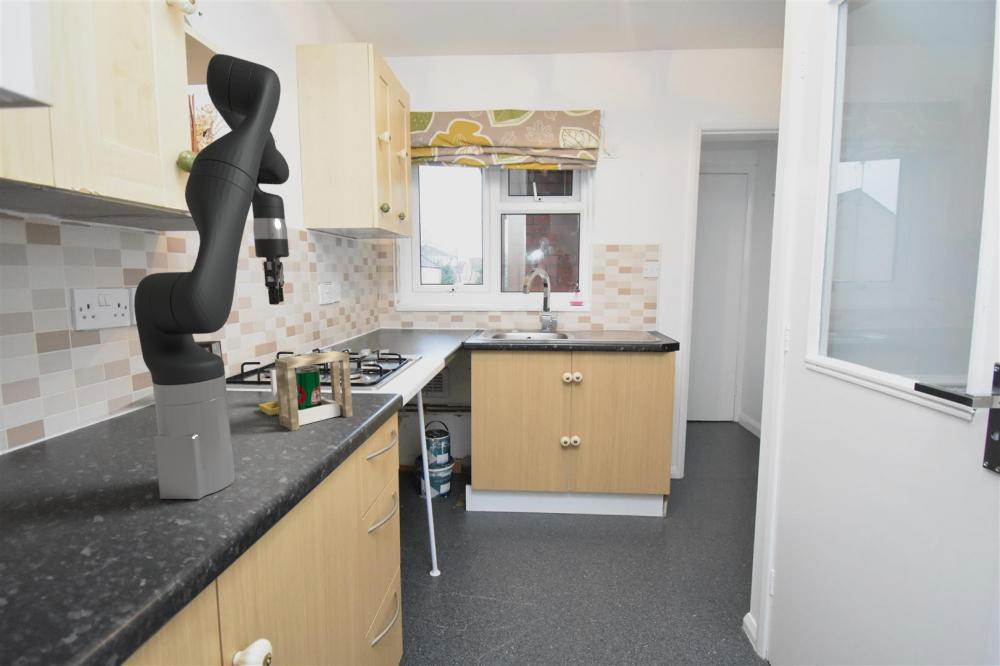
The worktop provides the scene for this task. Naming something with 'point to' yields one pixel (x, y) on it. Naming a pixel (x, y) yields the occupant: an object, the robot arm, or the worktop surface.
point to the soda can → (308, 387)
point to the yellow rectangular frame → (269, 408)
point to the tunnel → (288, 384)
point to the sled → (311, 414)
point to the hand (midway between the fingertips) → (276, 303)
